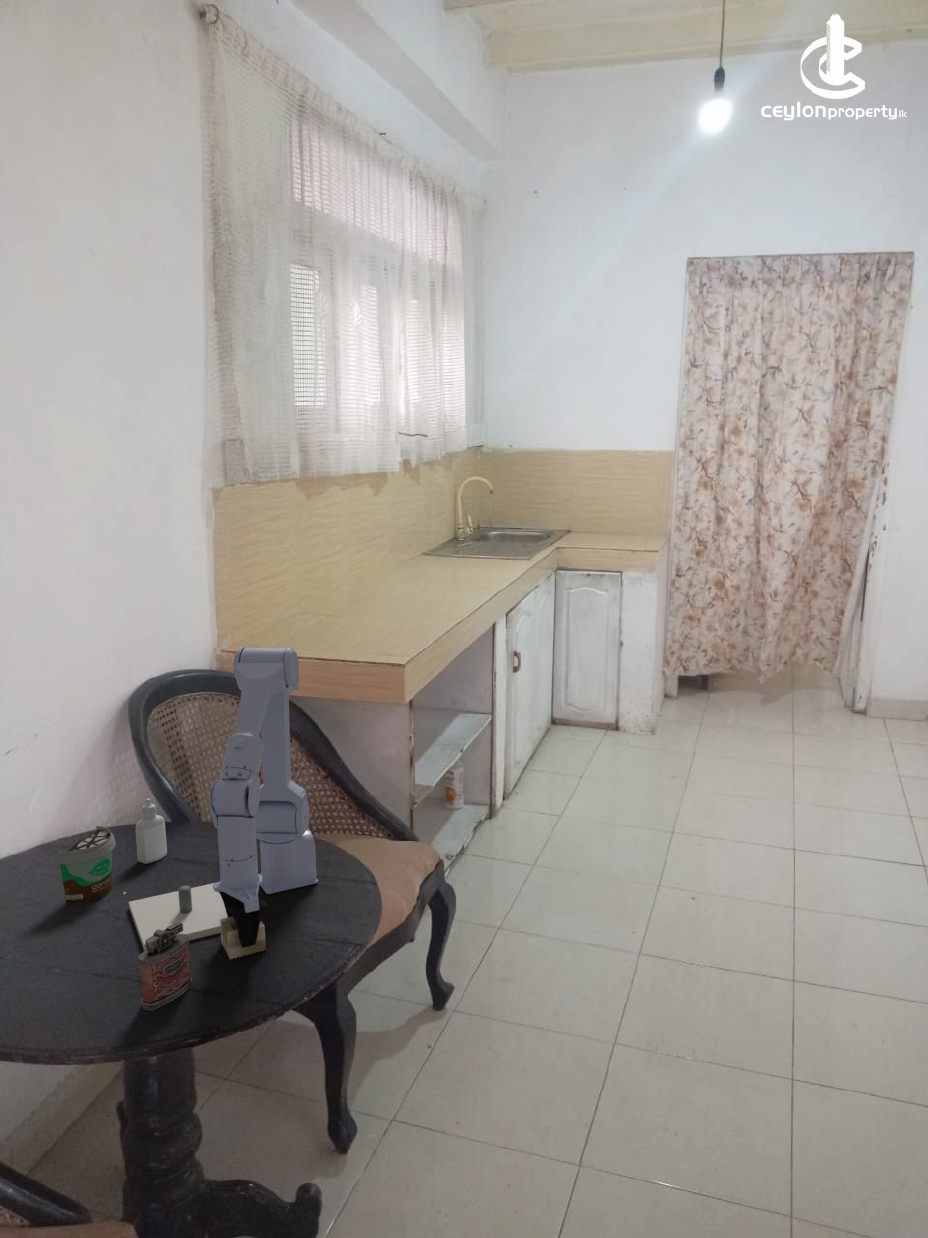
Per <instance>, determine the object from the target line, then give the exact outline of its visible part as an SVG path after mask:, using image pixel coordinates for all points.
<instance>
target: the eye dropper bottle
mask: <svg viewBox="0 0 928 1238" xmlns="http://www.w3.org/2000/svg"><path fill="white" fill-rule="evenodd" d="M141 809H142V818H141V819H140V820H138V822H137V823H136V825H135V837H136V838H135V843H136V855H137V862H138V863H141V864H145V865H147V864H151V863H154V861H155V862H157V861H160V860H161V859H163V858H164V857H165V856H166V855H167V853H168V847H167V835H166V834H167V833H166V822H165V818H164V817H163V816H162V815H159V814H157V807H156V804H154V803H152V801H151V798H146V800H145V804H144V805H142V808H141Z"/></svg>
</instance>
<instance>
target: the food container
mask: <svg viewBox="0 0 928 1238" xmlns="http://www.w3.org/2000/svg"><path fill="white" fill-rule="evenodd" d="M95 829H96V830H95V831H94V832H93V833H92V834H90V835H89V836H87V837H85V838H82V839H80V840H78V841H77V842H75V844H74V845H73V846H71V847H70V848H69V849H68V850H67V851H66V850H65V851H63V850H62V851H60V850H58V851H57V857H56V864H57V865H59V868H60V873H61V879H62V884H63V885H62V886H63V890H64V891H63V892H64V897H65V903H66V904H73V905H74V904H83V903H87V902H92V901H95V900H99V899H101V898H102V897H104V896H107V894H109V893H110V891H112V888H113V887H112V886H113V884H112V883H113V878H112V877H113V850H114V849H115V848H116V846H117V844H116V839H115V836H114V834H113V833H112V831H111V829H110V828H108V827H105V826H101V825H96V828H95Z"/></svg>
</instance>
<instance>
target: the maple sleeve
mask: <svg viewBox="0 0 928 1238" xmlns="http://www.w3.org/2000/svg"><path fill="white" fill-rule="evenodd" d="M220 927H221V933H220V941H221V942H220V943H221V945H222V947H223V949H224V951H225V952H226V954H227V956H228V958H229V960H233V958H234V959H237V957H238V958H241V957H245V956H248V955H254V954H256V952H257V953H259V952H260V951H261V952H265V951H266V950H267V944H266V943H267V942H266V929H265V924H264V923H263V921H262V920H261V922H260V925H259V930H258V936H257V941H256V944H255V945H252V946H248V947H244V948H243V947H242V946H241V943H240V940H239V936H238V931H237V927H236V923H235V921H234V918H233V916H232V917H228V918H224V919H220ZM264 950H265V951H264ZM244 955H245V956H244Z"/></svg>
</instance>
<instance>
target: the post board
mask: <svg viewBox="0 0 928 1238" xmlns="http://www.w3.org/2000/svg"><path fill="white" fill-rule="evenodd" d="M214 883H215V882H213V883H208V884H205V885H199V886H195V887H191V886H190V885H182V886H180V887H178V889H177V891H171V892H167V893H163V894H158V895H154V896H149V897H145V898H141V899H136V900H135V899H134V900H131V901H128V908H129V911H130V915H131V918H132V920H133V922H134V926H135V929H136V932H137V934H138V937H139V939H140V943H141V945H142V949H143V952H144V951H146V950H147V948H146V943H145V940H146V939H148V938H150V937H152V936H153V935H154V932H155V931H156V930H158V929H160V930H162V931H163V930H165V929H166V928H167V927H169V926H171V925H172V924H174V923H176V922H181V923H183V931H182V932H181V933H179V934H186V935H188V936H189V942H190V941H193V940H197V939H202V938H205V937H210V936H214V935H217V934H218V935H219V934H221V927H220V919H224V918H228V917H227V913H226V909H225V906H224V903H223V900H222V897H221V895H220V893H219V892H215V891H214V889H213V884H214Z"/></svg>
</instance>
